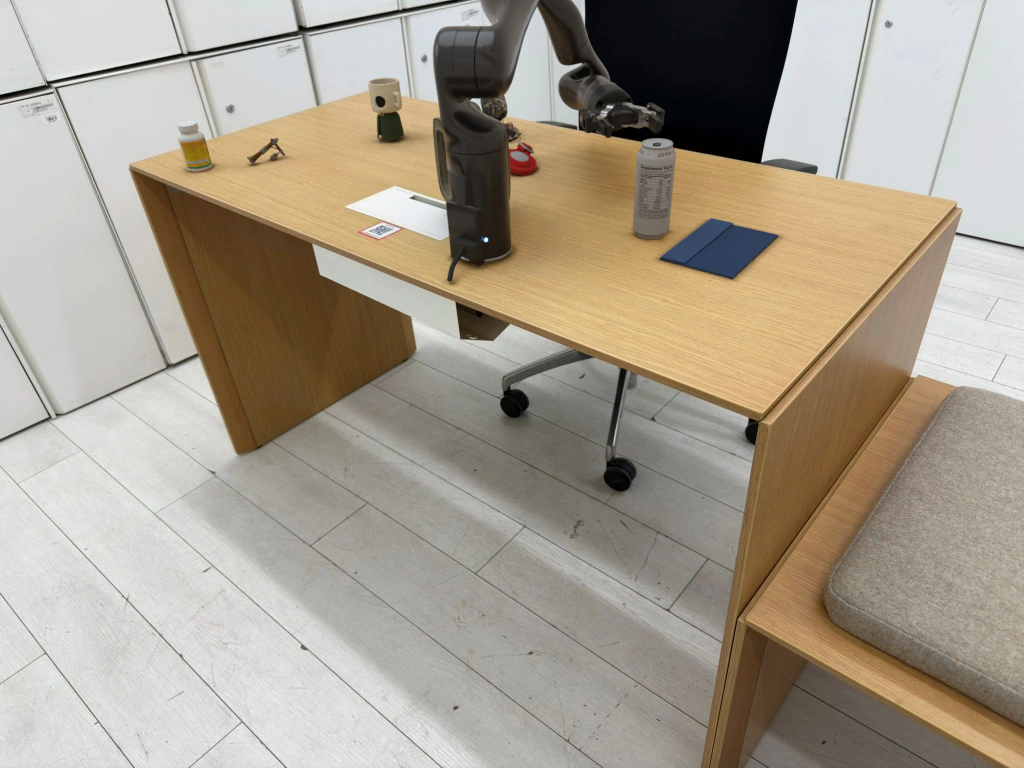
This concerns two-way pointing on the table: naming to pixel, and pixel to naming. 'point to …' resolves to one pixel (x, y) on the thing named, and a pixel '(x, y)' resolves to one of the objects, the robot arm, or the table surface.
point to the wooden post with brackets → (264, 150)
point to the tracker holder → (522, 159)
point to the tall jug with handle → (441, 157)
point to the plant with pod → (499, 113)
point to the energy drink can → (653, 188)
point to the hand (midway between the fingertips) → (634, 129)
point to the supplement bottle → (193, 147)
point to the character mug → (386, 107)
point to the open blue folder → (719, 248)
